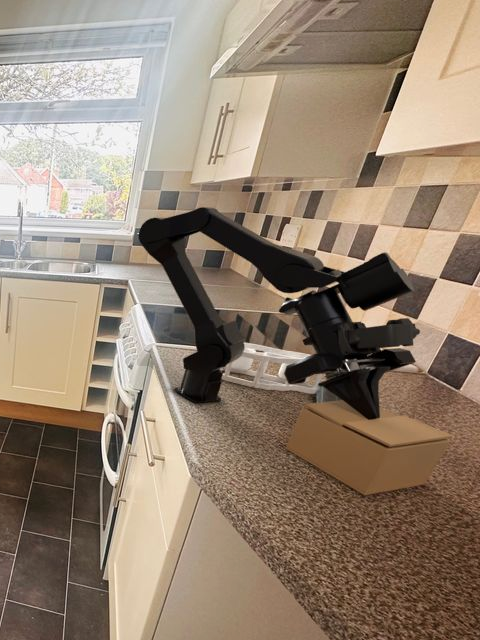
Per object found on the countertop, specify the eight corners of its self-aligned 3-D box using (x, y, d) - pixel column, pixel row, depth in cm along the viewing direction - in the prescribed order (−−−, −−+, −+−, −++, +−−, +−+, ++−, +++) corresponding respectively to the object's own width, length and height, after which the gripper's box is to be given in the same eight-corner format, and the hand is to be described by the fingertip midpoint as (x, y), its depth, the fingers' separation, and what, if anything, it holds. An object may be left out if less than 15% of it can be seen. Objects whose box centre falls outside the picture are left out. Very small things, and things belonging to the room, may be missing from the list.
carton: (285, 448, 68) (304, 403, 65) (339, 441, 71) (360, 397, 68) (364, 495, 58) (391, 444, 54) (424, 484, 61) (454, 435, 57)
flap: (303, 406, 65) (304, 403, 65) (359, 400, 68) (361, 398, 68) (341, 426, 60) (342, 424, 60) (400, 419, 63) (401, 417, 63)
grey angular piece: (316, 389, 92) (315, 361, 84) (360, 390, 88) (363, 361, 80) (315, 429, 89) (314, 404, 81) (360, 432, 84) (364, 405, 76)
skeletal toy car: (314, 385, 93) (327, 355, 90) (316, 402, 85) (330, 369, 82) (215, 363, 104) (223, 335, 101) (207, 376, 96) (217, 346, 93)
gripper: (334, 299, 57) (390, 407, 52) (429, 296, 61) (490, 396, 56) (264, 337, 67) (305, 430, 62) (351, 332, 71) (396, 419, 66)
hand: (374, 419), depth 61 cm, fingers closed, pressing on flap
